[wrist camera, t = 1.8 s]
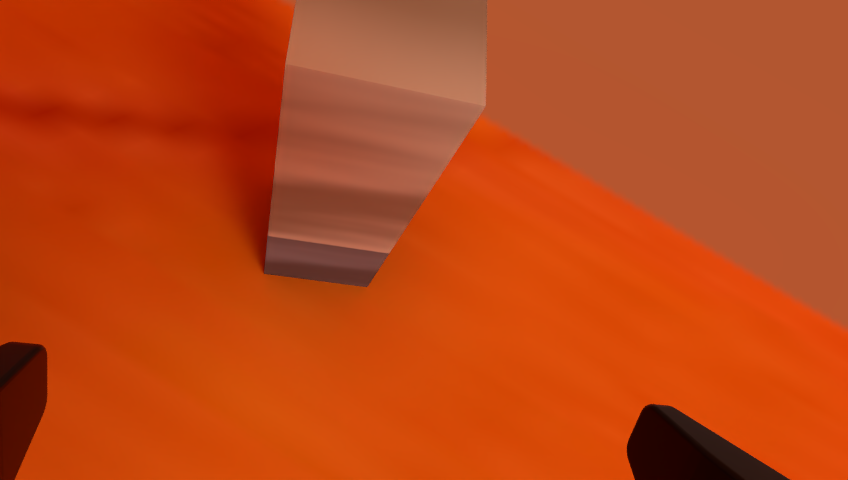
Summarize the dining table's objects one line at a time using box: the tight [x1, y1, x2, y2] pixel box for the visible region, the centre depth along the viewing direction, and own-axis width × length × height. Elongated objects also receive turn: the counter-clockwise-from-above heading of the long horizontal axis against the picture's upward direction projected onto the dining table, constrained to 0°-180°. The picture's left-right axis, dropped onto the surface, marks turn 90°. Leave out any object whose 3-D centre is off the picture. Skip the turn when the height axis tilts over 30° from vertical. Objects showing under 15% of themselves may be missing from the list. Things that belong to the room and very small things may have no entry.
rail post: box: [264, 0, 487, 287], centre depth 18 cm, size 4×4×13 cm
